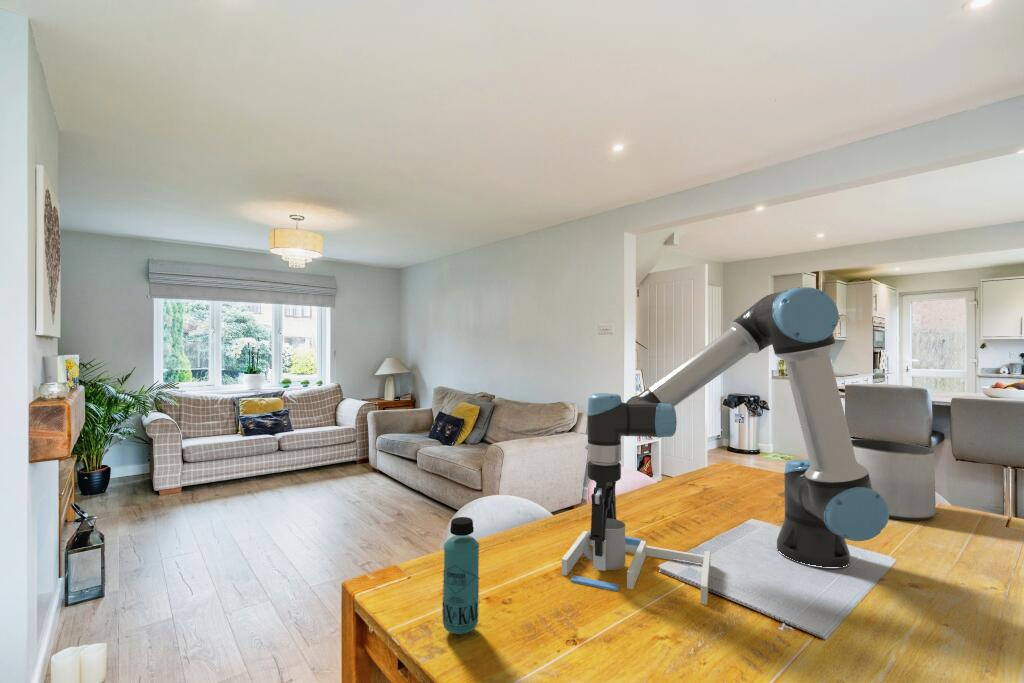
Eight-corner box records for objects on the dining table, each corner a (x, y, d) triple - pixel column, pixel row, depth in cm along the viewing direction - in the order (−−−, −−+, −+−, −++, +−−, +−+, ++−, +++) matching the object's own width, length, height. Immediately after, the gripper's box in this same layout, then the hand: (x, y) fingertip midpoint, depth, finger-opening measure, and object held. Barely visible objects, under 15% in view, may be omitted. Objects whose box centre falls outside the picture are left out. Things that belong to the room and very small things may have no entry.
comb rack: (710, 564, 113) (710, 549, 113) (706, 610, 93) (706, 592, 93) (584, 542, 125) (584, 529, 125) (558, 579, 106) (558, 563, 106)
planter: (928, 506, 155) (927, 443, 156) (943, 528, 136) (942, 456, 137) (842, 494, 168) (842, 436, 168) (845, 513, 149) (845, 447, 149)
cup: (631, 568, 108) (631, 528, 108) (589, 573, 105) (589, 532, 106) (616, 554, 115) (616, 517, 115) (576, 559, 112) (576, 520, 113)
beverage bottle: (443, 622, 89) (443, 513, 89) (479, 621, 90) (479, 512, 90) (440, 644, 82) (441, 526, 83) (480, 642, 83) (480, 525, 83)
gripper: (598, 451, 122) (598, 542, 122) (575, 470, 103) (575, 577, 103) (629, 453, 119) (629, 547, 119) (610, 474, 100) (610, 584, 100)
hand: (604, 561), depth 111 cm, fingers closed on cup, 8 cm apart
